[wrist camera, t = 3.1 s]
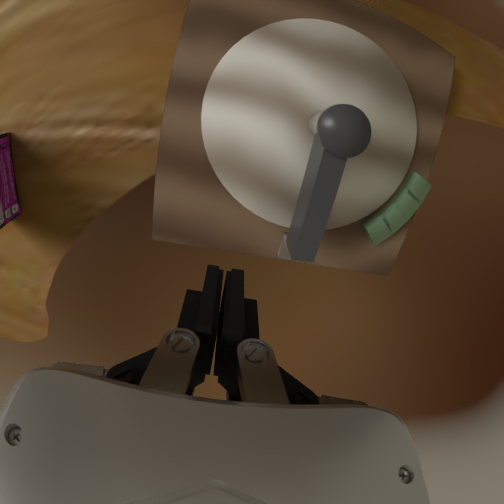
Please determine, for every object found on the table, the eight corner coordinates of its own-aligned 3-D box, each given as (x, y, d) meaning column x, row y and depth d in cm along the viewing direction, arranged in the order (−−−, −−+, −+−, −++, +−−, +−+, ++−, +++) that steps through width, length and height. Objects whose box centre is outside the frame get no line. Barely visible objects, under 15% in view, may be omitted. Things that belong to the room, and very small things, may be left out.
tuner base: (204, -23, 15) (199, -39, 11) (441, 57, 18) (462, 56, 15) (158, 228, 28) (148, 245, 24) (378, 264, 31) (391, 281, 28)
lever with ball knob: (306, 98, 19) (327, 96, 14) (347, 111, 19) (377, 114, 15) (273, 230, 25) (281, 263, 20) (310, 237, 25) (326, 270, 20)
